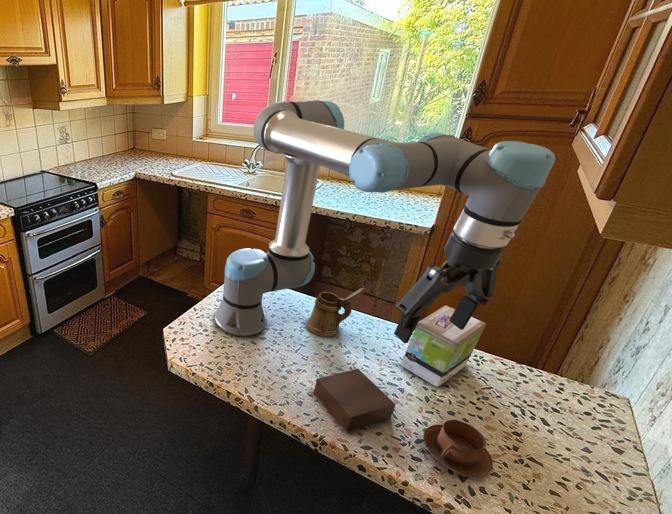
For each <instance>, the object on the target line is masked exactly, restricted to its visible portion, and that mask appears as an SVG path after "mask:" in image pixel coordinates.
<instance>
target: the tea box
mask: <svg viewBox="0 0 672 514" xmlns="http://www.w3.org/2000/svg"><path fill="white" fill-rule="evenodd" d="M455 309H456V308H453V307H451V306H449V305H444V306H442V307H441V308H439V309H437V310H436V311H434V312H432V313H431V314H429V315H428V316H426V317H424V318H423V319H421V320H419V321H418V323H417V325H416V327H415V329H414V331H413V333H412V335H411V337H410V340H409V342H408V346H407V348H406V350H405V353H404V355H403V358H402V361H401V363H400V366H401V367H403V368H405V369H406V370H407V371H409V372H411V373H412V374H415V375H416V376H417V377H419V378H421V379H423V380H424V381H426V382H428V384H431V385H433V386H434V387H436V388H438V387H440V386H441V385H443V384H444V383H445V382H447V381H448V380H450V379H451V378H452V377H453V376H454V375H456V374H457V373H459V372H460V371H461V370H463V369H464V368H465V367H466V366H467V364H468V362H469V361H470V357H471V356H472V354H473V352H474V350H475V348H476V345H477V344H478V342H479V339H480V337H481V335H482V334H483V332H484V330H485V328H486V322H484V321H482V320H479V319H477V318H475V317H473V316H471V318H470V320H469V321H468V323H467V325H466V326H465V328H464V329H462V330H460V329H459V328H458V327H456V326H455V325H454V324H453V323H451V322H450V321H449V320H450V318H451V316H452V314H453V313H454V311H455Z"/></svg>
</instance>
